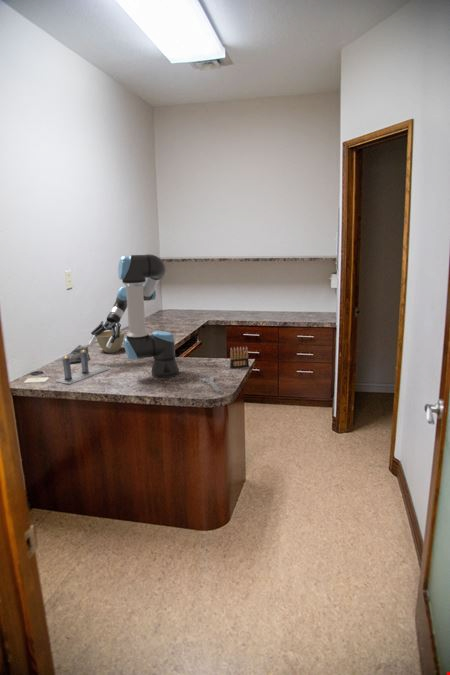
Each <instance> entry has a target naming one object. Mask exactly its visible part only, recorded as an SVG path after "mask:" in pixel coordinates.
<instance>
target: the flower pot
mask: <svg viewBox="0 0 450 675" xmlns="http://www.w3.org/2000/svg"><path fill="white" fill-rule="evenodd" d="M115 332H116V330H115ZM111 336H112V331H111V330H106V331H104V332H102V333H101V334H100V335H98V336H97V339H96V342H97V343H98V346H100V348H101V349H102V350H103V351H104V352H105V353H108V354H109V353H110V354H112V353H116V352H119V350H120V349H121V347H122V345H123V344H124V340H123V339H124V338H125V332H124V331H122V330H120V337H119V338H116V339H115V341H114V343H112V345H111V347H110V349H109V348H108V347H107V346H106V345H107V343H108V341H109V339H110V338H111ZM112 337H113V336H112Z"/></svg>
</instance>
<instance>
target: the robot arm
mask: <svg viewBox="0 0 450 675" xmlns="http://www.w3.org/2000/svg"><path fill="white" fill-rule="evenodd" d="M117 270H118V278H119V280H122V284H123V285H125V286H121V287H119V290H118V291H117V295H116V298H115V302H114V304H113V306H112V307H111V309H110V311H109V313H108V315H107V317H106V321H101V322H100V323H99V324H98V325H97V327H95V328H94V329H93V330H92V331H91V332H90V334H91V335H92V336H91V338H90V340H89V343H88V345H89V346H90V347H91V348H92V347H93V346H94V344H95V342H97V336H98V335H100V334H101V333H102V332H105V331H112V336H113V337H112V336H111V338H110V339H109V341H108V343H107V345H106V346H107V347H108V348H109V349H110V347H111V345H112V343H114V341H115V339H116V338H119V337H120V331H121V326H122V324H121V323H120V321H121V320H122V318H123V315H124V314H125V312H126V310H127V322H128V331H127V333H126V335H125V336H126V337H124V339H123V346H124V351H125V354H126V357H127V358H128V359H129V360H139V359H147V358H153V363H152V367H151V371H150V373H151V376H152V377H156V378H170V377H175V376H177V375H179V374H180V368H179V365H178V362H177V360H176V346H175V343H176V342H175V336H174V334H173V333H171V332H169V331H163V330H162V331H160V330H155V331H152V333H151V334H149V331H147V329H146V314H145V302H147V301H153V300H155V299H156V296H157V293H156V289H157V286H158V284H159V283H160V281H161V279H163V278H164V277H165V273H166V271H167V270H166V265H165V262H164V261H163V260H162V259H161V257H159V256H157V255H154V254H129V255H123V256H120V258H119V261H118V267H117ZM115 331H116V332H115Z"/></svg>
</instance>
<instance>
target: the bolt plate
mask: <svg viewBox="0 0 450 675" xmlns="http://www.w3.org/2000/svg"><path fill="white" fill-rule="evenodd" d="M62 363H63V365H62V366H63V373H64V376H62V377H60V378H57V379H55V382H57V383H60V384H66V385H71V384H74V383H76V382H79V381H82V380H85V379H87V378H91V377H92V376H96V375H98V374H101V373H102V372H105V371H108V370H111V366H107V365H100V364H95V365H92V366H90V367H88V370H89V371H88V372H82V369H81V370H79V371H75V372H73V373H72V369H71V362H70V358H69V356H68V355H65V356H62Z"/></svg>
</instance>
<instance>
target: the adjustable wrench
mask: <svg viewBox="0 0 450 675" xmlns="http://www.w3.org/2000/svg"><path fill="white" fill-rule="evenodd" d="M201 381H203V382H202V383H203V384H208V383H209V384H210V385H211V386H212V387H211V386H210V385H209V384H208V385H209V386H210V387H211V388H212V389H213V390H214V391H216V392H217V393H218V394H217V393H216V392H215V393H216V394H217V395H219V394H220V395H223V394H224V392H223V390H222V389H221V388H220V386H218V384H216V383H215V382H214V381H215V377H214V376H209V375H207V378H205V377H203V378H201ZM222 393H223V394H222Z"/></svg>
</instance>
